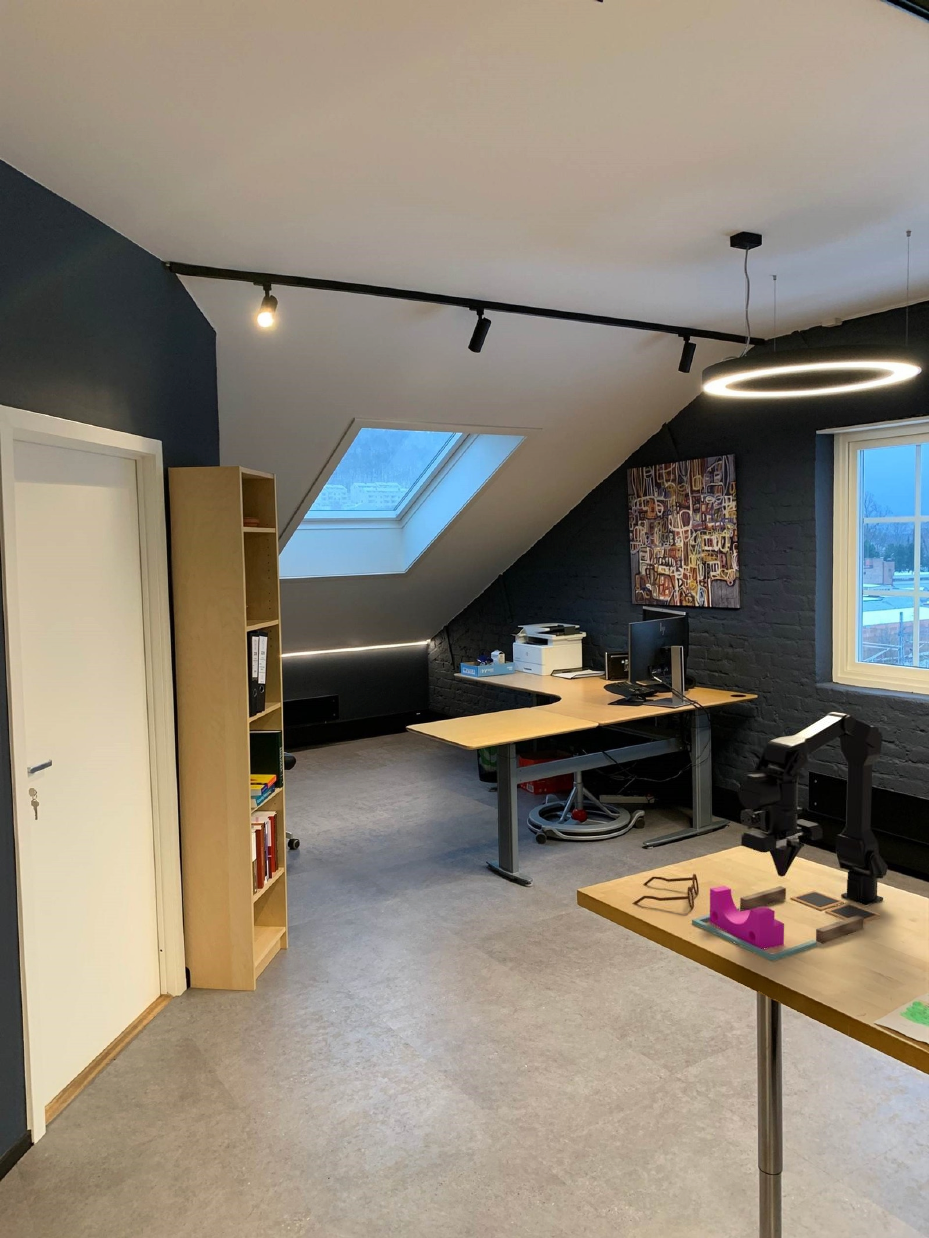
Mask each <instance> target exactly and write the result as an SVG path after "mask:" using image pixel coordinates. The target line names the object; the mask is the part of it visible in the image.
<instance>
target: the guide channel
mask: <svg viewBox="0 0 929 1238" xmlns="http://www.w3.org/2000/svg"><path fill="white" fill-rule="evenodd" d="M786 897H787V888H786V887H784V886H782V885H781V886H776V887H773V888H769V889H765V890H762V891H759V892H755V893H752V894H749V895H745V896H742V897H741V896H740V901H739V902H740V903H739V910H742V911H745V910H749V911H750V909H754V908H757V907H758V908H759V907H763V906H767V904H768V905H771V904H774V903H777V902H780V900H781V901H784V900H786V899H787V898H786ZM773 902H774V903H773ZM864 926H865V923H864V918H863V917H861V916H858V915H856V916H853V917H850V918H848V919H845V920H844V919H842V920H839V921H836V922H833V923H830V924H826V925H824V926H821V927H817V928H816V930H815V931H816V932H815V941H817V942H818V943H819V944H821V945H822V944H823V945H824V944H826V943H828V942H832V941H834V940H838V939H840V938H843V937H846V936H849V935H852V934H855V933H857V932H861V931H864Z"/></svg>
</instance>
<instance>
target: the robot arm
mask: <svg viewBox="0 0 929 1238" xmlns="http://www.w3.org/2000/svg"><path fill="white" fill-rule="evenodd" d="M836 739H838V740H839V748H840V752H841V754H842V756H843V757H844V759H845V760H846V762H847V780H846V781H847V783H846V814H845V815H846V817H845V819H846V821H845V822H846V823H845V828H844V829H843V830H842V832H841V833H840V834H837V835H836V836H835V850H834V852H835V853H836V857H837V861H838V864H839V868H840V869H843V870H846V871H848V872H847V879H846V892H843V893H841V894H840V896H841V898H844V899H847V900H850V901H852V902H855V903H858V904H860V905H862V906H869V905H873V904H876V903H878V902H881V901H884V897H883V896H879V895H878V879H883V878H884V877H885V876H887V872H888V868H889V865H888V864H887V863H886V862H885V860H884V859H883V858H882V856H881V854H879V853H880V852H879V842H878V840H877V838H876V837H875V835H874V832H873V831H872V829H871V822H872V821H871V819H872V789H873V788H872V787H873V784H872V783H873V782H872V781H873V765H874V764H875V762H876V760H877V759H878V758H879V757H880V755H881V752H882V744H883V740H884V739H883V733H882V731H880V729H879V728H878V727H877V726H874V725H869V724H867V723H865V722H863V721H860V720H858V719H856V718H855V717H853V716H852V715H850V714H849V713H842V712H835V711H831V712H829V713H827V714H826V715H825V717H823V718H821V719H820V720H818V721H816V722H814V723H813V724H811V725H810V726H808V727H806V728H805V729H803V730H801V731H800V732H798V733H795V734H794V735H789V736H788V735H787V736H780V737H778V738H774V739H771V740H769V741H768V742H767V743H766V744H765V747H764V748H763V751H762V753H761V755H760V757H759V759H758V761H757V763H756V765H755V767H754V769H753V771H752V772H753V773H754V774H752V773H751V774H747V775H746V778H745V779H746V780H745V781H743V782H742V783H741V784H740V785H739V788H738V790H737V794H738V800H739V801H740V804H742V806H743V807H744V808H746V809H744V810H741V812H740V822H741V824H742V826H743V827H744V826H746V827H747V830H749V831H745V832H743V834H741V835H740V836H741V837H740V846H742V847H745V848H747V849H750V850H753V851H756V852H758V853H770V856H771V858H772V862H773V864H774V867H775V871H776V874H777V875H778V876H779V877H783V878H784V877H785V876H786V875H787V873H788V871H789V869H790V867H791V866H792V864H793V862H794V860H795V858H796V857H797V855H798V854H799V852H800V851H801V849H802V848H803V847H805V843H803V842H801V841H800V839H799V837H800V836H801V837H802V836H805V835H809V838H810V839H811V840H812V841H816V840H820V839H823V828H822V827H821V825H820V824H819V823H817V822H814V821H813V822H812V821H808V820H805V819H802V818H801V819H798V815H800V814H803V808H802V807H798V800H799V799H798V797H799V796H798V795H799V794H798V792H799V790H798V789H799V781H800V780H804V779H806V776H805V775H804V774H803V773H802V772H801V769H802V768H804V767H805V765H807V764H808V762H809V759H810V756H811V755H812V754H813V753H815V752H816V751H818V750H820V749H821V748H822V747H825V746H826V745H828V744H829V743H831V742H832V741H834V740H836ZM761 808H762V810H760V811H759V810H758V811H754V810H755V809H761ZM759 827H760V830H757V829H754V830H752V829H753V828H759ZM764 831H766V832H764ZM767 832H768V833H767Z"/></svg>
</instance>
